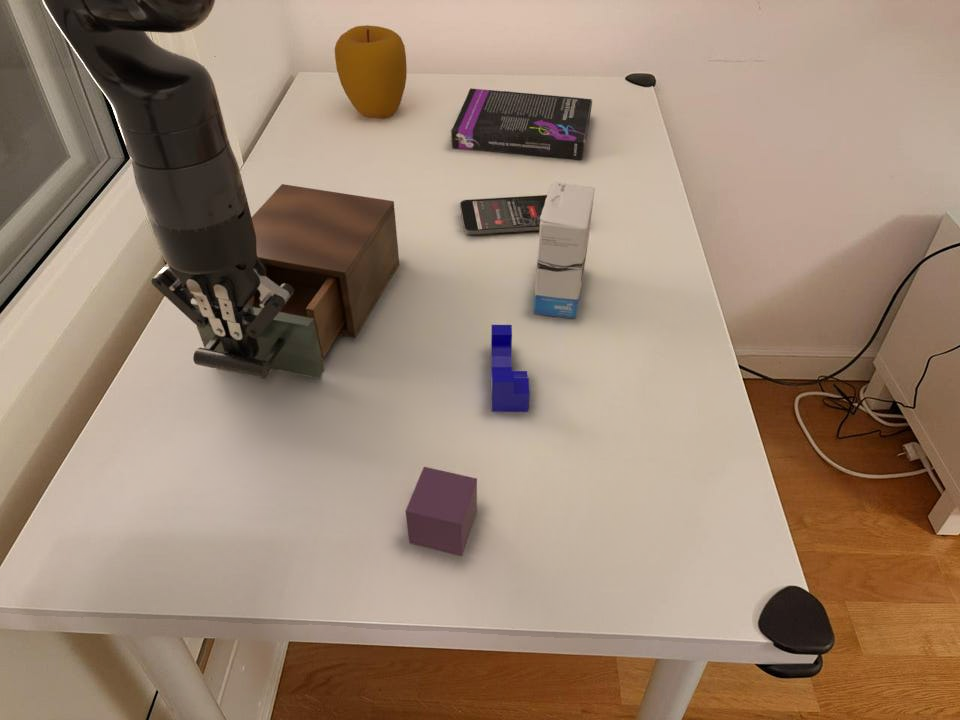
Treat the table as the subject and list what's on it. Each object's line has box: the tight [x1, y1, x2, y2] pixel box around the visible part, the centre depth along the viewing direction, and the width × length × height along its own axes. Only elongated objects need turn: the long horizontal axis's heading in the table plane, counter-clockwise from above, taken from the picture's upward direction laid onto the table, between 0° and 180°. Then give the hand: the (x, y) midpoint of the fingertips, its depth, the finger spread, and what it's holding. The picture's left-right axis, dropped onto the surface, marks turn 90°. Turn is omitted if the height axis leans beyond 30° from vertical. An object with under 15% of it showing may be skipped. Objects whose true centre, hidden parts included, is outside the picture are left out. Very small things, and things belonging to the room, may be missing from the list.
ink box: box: [532, 181, 596, 319], centre depth 78 cm, size 8×5×12 cm, turn 168°
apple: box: [334, 25, 408, 119], centre depth 111 cm, size 11×11×13 cm
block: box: [405, 466, 478, 557], centre depth 58 cm, size 4×4×4 cm
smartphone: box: [459, 194, 547, 236], centre depth 93 cm, size 7×1×15 cm
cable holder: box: [490, 324, 531, 413], centre depth 71 cm, size 8×4×4 cm, turn 0°
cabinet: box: [251, 183, 400, 339], centre depth 80 cm, size 14×14×9 cm
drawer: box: [191, 264, 346, 380], centre depth 72 cm, size 17×12×7 cm
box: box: [450, 87, 593, 161], centre depth 109 cm, size 14×4×20 cm
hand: (245, 359), depth 69 cm, fingers closed
